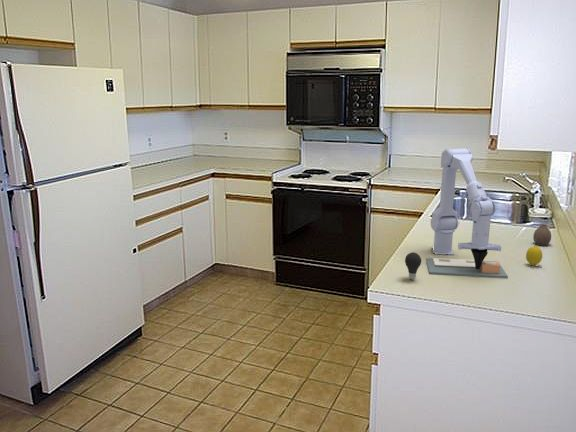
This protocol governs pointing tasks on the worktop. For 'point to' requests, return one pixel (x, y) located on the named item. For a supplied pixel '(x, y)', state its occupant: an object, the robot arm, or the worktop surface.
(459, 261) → the ticket
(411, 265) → the light bulb
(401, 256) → the worktop surface
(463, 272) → the mat
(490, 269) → the stub
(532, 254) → the lemon
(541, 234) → the brown pointed fruit
